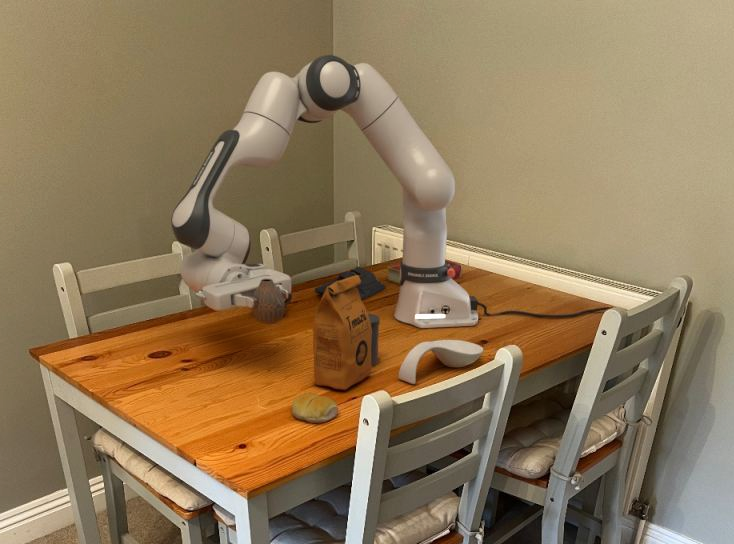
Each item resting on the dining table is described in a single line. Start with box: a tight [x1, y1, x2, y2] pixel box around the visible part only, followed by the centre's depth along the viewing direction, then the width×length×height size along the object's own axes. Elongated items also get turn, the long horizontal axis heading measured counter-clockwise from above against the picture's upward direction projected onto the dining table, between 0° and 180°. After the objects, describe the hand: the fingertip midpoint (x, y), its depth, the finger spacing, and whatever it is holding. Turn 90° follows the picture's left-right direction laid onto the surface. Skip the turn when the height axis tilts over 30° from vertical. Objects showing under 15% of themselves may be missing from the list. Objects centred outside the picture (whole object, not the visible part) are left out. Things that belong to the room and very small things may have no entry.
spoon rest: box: [397, 339, 484, 385], centre depth 166 cm, size 24×12×7 cm, turn 137°
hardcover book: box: [385, 259, 463, 286], centre depth 229 cm, size 12×21×4 cm, turn 130°
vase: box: [251, 279, 286, 325], centre depth 156 cm, size 7×7×9 cm
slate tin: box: [367, 312, 381, 367], centre depth 169 cm, size 7×7×10 cm
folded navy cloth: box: [314, 266, 386, 300], centre depth 217 cm, size 15×22×5 cm
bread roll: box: [291, 392, 339, 424], centre depth 146 cm, size 8×9×4 cm
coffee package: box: [312, 275, 373, 391], centre depth 156 cm, size 10×12×22 cm
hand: (270, 299), depth 155 cm, fingers closed on vase, 7 cm apart
